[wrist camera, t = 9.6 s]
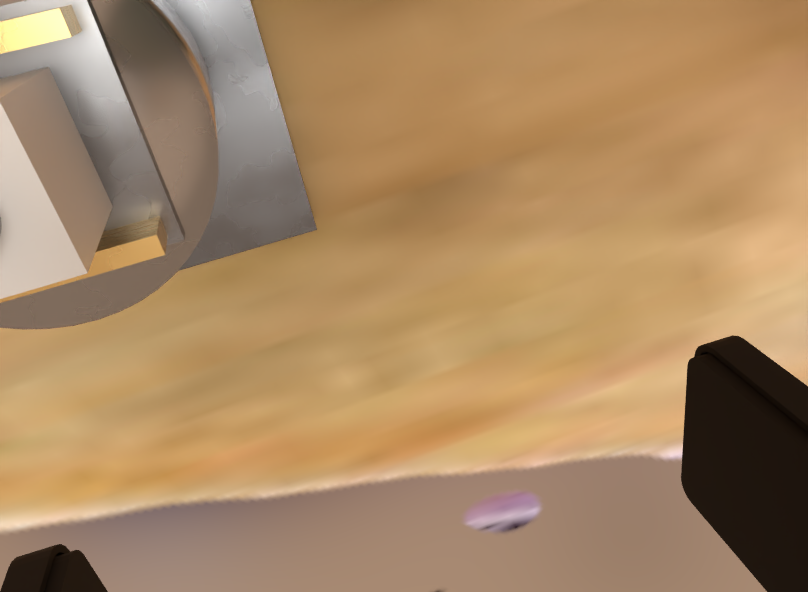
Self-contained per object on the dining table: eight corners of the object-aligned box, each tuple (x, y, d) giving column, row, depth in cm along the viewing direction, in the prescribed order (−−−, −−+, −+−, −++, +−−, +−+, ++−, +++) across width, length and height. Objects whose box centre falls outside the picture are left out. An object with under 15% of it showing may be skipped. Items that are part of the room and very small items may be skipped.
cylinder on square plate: (195, -182, 29) (190, -289, 17) (313, 220, 39) (363, 338, 27) (-292, -86, 26) (-725, -130, 14) (-32, 322, 36) (-152, 505, 24)
